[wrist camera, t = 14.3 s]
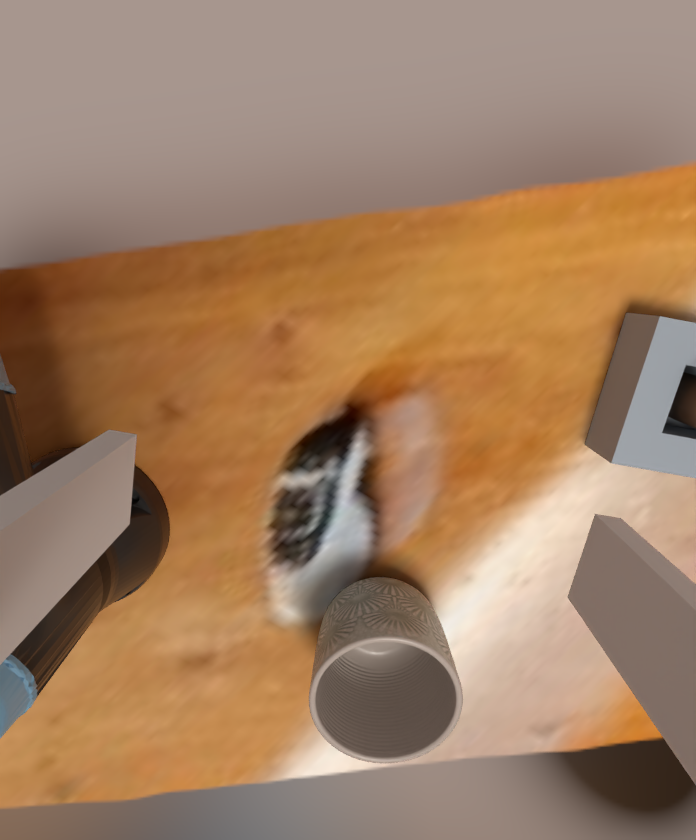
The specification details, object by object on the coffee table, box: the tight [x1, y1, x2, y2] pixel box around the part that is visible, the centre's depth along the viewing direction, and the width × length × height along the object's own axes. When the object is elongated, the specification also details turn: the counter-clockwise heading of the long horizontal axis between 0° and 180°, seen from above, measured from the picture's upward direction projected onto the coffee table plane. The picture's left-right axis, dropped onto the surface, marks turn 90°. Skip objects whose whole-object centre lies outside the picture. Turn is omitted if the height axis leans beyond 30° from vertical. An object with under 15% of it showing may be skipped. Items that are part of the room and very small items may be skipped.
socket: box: [585, 312, 696, 478], centre depth 43 cm, size 12×12×5 cm
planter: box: [309, 577, 463, 763], centre depth 47 cm, size 12×12×11 cm
